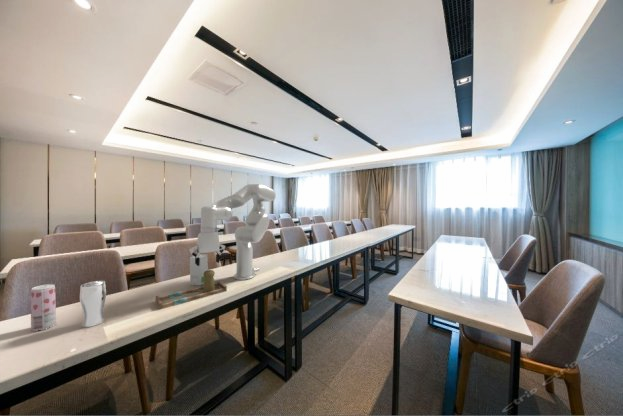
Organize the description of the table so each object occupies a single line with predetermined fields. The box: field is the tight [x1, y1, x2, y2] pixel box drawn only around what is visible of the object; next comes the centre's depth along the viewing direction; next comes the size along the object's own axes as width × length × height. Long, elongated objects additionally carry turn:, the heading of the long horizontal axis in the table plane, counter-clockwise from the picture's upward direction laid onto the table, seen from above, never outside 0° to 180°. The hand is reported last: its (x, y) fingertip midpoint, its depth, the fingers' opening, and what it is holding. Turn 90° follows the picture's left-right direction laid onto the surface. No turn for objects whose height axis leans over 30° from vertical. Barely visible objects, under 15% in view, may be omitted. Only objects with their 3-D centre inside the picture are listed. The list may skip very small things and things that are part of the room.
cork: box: [202, 269, 216, 294], centre depth 111 cm, size 6×6×11 cm
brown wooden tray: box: [154, 280, 227, 310], centre depth 106 cm, size 29×11×2 cm, turn 134°
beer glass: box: [79, 280, 107, 328], centre depth 81 cm, size 7×7×15 cm
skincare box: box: [189, 253, 209, 286], centre depth 123 cm, size 8×7×16 cm
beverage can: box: [30, 283, 57, 332], centre depth 78 cm, size 6×6×15 cm
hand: (207, 263), depth 110 cm, fingers open, 9 cm apart
